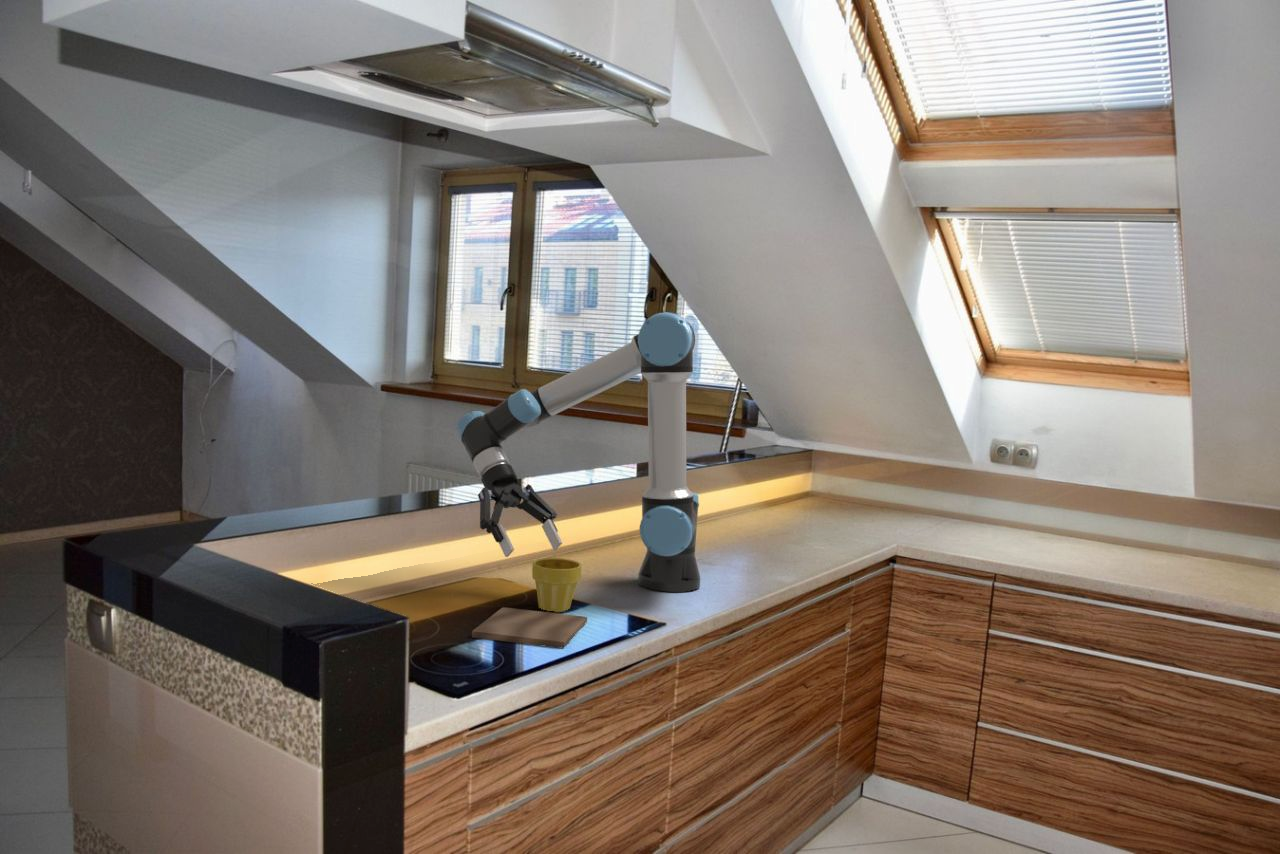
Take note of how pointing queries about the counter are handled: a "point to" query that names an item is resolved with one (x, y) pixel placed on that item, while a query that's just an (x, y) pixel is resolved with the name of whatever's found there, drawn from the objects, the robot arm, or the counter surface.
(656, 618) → the counter surface
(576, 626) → the walnut board
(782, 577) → the counter surface
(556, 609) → the plant pot
